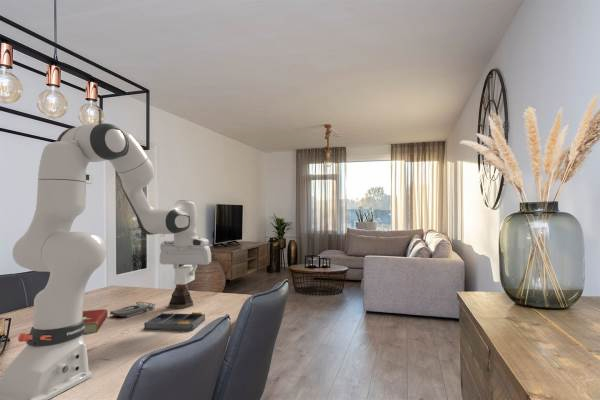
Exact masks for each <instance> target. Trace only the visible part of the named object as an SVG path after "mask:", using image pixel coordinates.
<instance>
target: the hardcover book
mask: <svg viewBox="0 0 600 400" xmlns="http://www.w3.org/2000/svg"><path fill="white" fill-rule="evenodd" d="M108 313H109V312H108V309H107V308H102V309H91V310H83V319H84V325H85V328H84V333H83V334H87V333H89V334H90V333H98V331H99V330H100V328H101V327H102V325H103V324H104V322H105V321H106V320H107V318H108Z"/></svg>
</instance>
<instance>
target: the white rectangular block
mask: <svg viewBox="0 0 600 400" xmlns="http://www.w3.org/2000/svg"><path fill="white" fill-rule="evenodd" d="M192 269H193V267H192V264H185V265H184V266H181V267H178V268H175V269H174V285H176V284H186V285H187V284H188V283H191V282H192V281H194V280H196V278H195V277H196V274H195V275H194V276H189V274H190V273H189V272H190V271H192Z"/></svg>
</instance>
